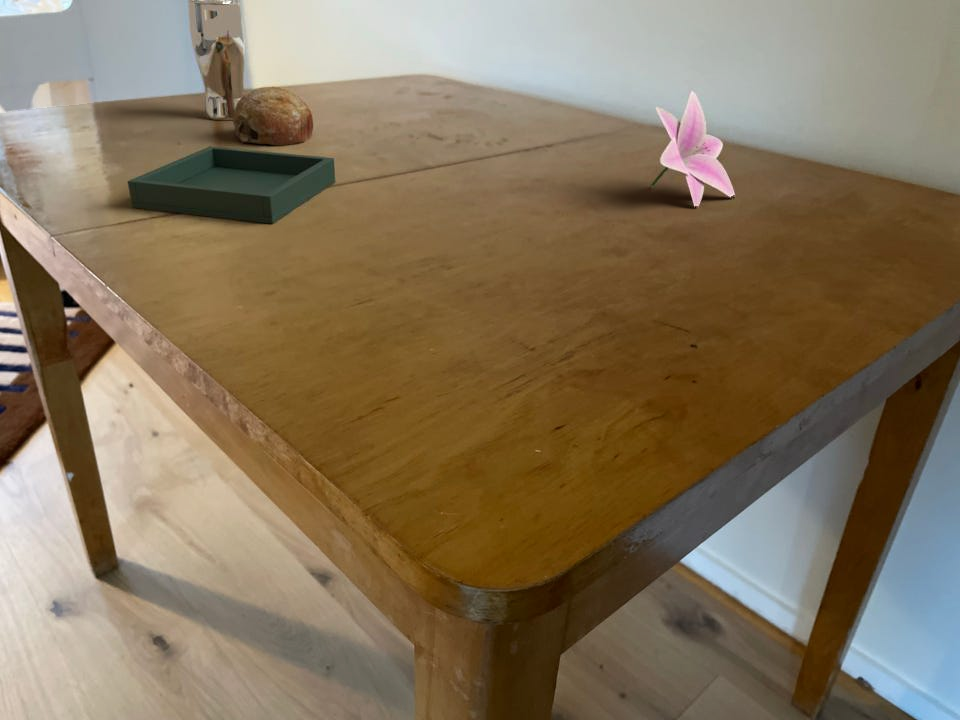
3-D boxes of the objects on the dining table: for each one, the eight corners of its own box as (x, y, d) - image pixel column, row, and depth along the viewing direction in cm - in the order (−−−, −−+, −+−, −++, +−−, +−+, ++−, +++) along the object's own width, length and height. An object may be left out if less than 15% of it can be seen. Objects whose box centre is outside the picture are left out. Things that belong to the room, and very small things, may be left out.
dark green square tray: (131, 207, 74) (126, 181, 73) (212, 169, 87) (209, 145, 86) (272, 224, 71) (270, 196, 70) (335, 182, 84) (334, 157, 83)
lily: (632, 219, 79) (691, 144, 73) (598, 148, 86) (648, 74, 80) (718, 243, 85) (780, 175, 78) (679, 174, 92) (733, 106, 85)
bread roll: (231, 165, 102) (206, 112, 95) (270, 117, 107) (249, 65, 101) (296, 174, 99) (275, 121, 92) (332, 125, 104) (315, 71, 98)
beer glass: (231, 109, 115) (218, -3, 108) (262, 116, 112) (251, 1, 105) (191, 116, 110) (175, -1, 103) (223, 123, 107) (208, 3, 100)
